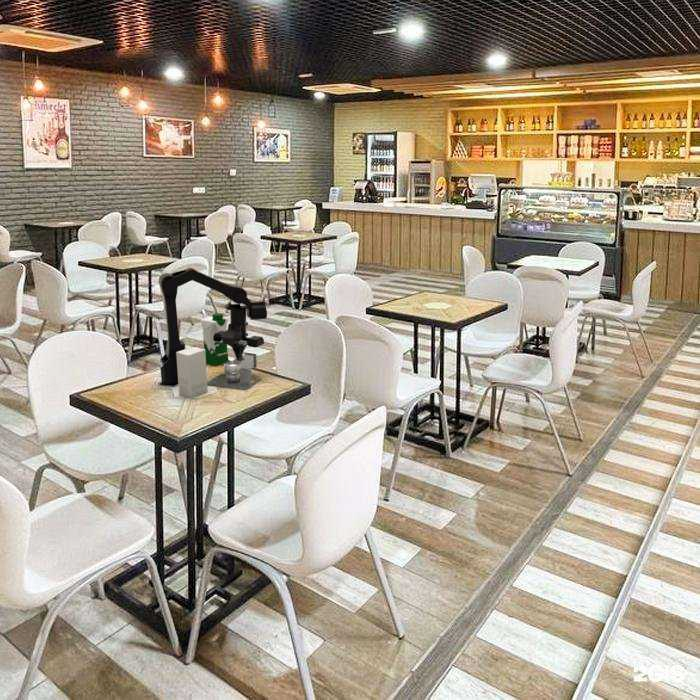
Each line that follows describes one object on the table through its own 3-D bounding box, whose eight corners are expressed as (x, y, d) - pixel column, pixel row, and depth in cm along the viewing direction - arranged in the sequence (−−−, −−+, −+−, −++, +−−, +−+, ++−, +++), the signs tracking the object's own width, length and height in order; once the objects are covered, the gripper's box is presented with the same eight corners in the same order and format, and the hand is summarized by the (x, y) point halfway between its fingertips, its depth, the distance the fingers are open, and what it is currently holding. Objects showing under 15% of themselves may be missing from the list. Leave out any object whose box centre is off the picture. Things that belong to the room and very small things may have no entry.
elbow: (236, 379, 259) (235, 365, 258) (220, 377, 262) (220, 363, 260) (258, 367, 273) (258, 354, 272) (244, 365, 276) (243, 352, 274)
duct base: (205, 385, 261) (204, 368, 259) (222, 376, 272) (221, 359, 270) (246, 390, 256) (245, 372, 254) (261, 380, 267) (260, 363, 265)
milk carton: (216, 367, 283) (213, 317, 278) (200, 363, 288) (197, 314, 283) (232, 362, 290) (230, 313, 285) (216, 358, 295) (213, 310, 290)
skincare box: (195, 388, 258) (193, 346, 254) (209, 392, 254) (206, 349, 250) (177, 394, 251) (175, 351, 247) (191, 398, 247) (188, 354, 243)
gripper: (204, 322, 263) (205, 363, 267) (249, 328, 256) (249, 370, 261) (221, 315, 273) (221, 355, 277) (264, 321, 266) (264, 362, 270)
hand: (238, 361), depth 271 cm, fingers closed
